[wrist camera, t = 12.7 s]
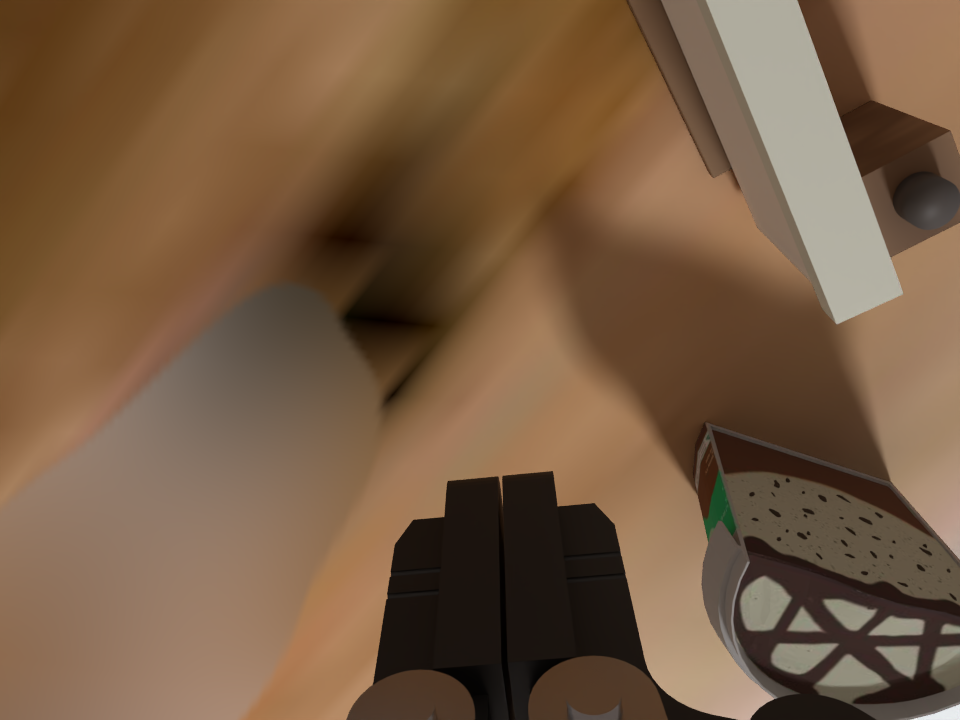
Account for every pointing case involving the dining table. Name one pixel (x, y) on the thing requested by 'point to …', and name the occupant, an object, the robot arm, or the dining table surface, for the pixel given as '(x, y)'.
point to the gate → (787, 145)
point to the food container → (826, 580)
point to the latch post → (905, 173)
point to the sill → (680, 82)
